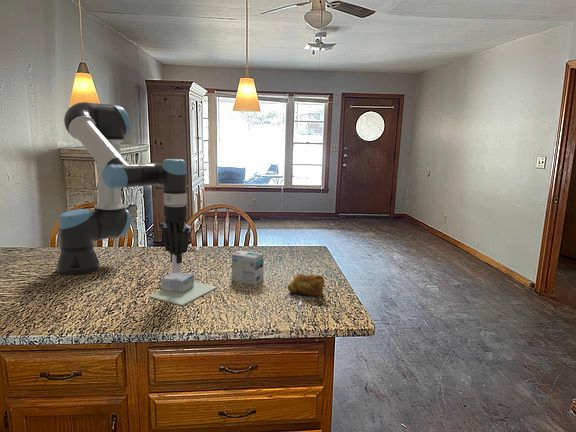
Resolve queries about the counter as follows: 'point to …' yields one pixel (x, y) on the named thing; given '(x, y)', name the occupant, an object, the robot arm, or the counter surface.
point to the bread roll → (307, 285)
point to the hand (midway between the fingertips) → (176, 271)
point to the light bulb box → (247, 267)
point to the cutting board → (184, 294)
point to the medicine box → (177, 282)
